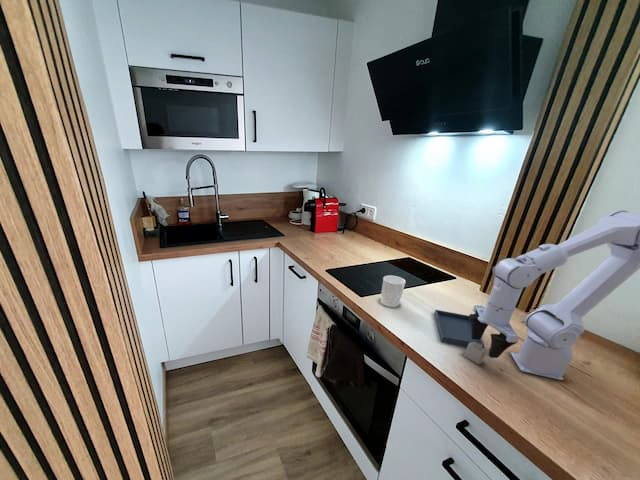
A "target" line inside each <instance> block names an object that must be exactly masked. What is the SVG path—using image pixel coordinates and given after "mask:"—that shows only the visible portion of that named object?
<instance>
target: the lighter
mask: <svg viewBox="0 0 640 480" xmlns="http://www.w3.org/2000/svg"><path fill="white" fill-rule="evenodd" d="M482 347H483V345H481V344H479V343H477V342H473V343H472V342H471V343H469V344H468V346H467V347H466V349H465V352H464V354H463V355H464V357H465V358H467V359H468V360H470V361H472V362H474V363H475V364H477V365H480V364H482V363H483V360H484V358H485V355H486V356H487V357H489V350H490V348H488V349H486V348H482Z"/></svg>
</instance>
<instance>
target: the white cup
mask: <svg viewBox="0 0 640 480" xmlns="http://www.w3.org/2000/svg"><path fill="white" fill-rule="evenodd" d="M405 285H406V280H405V279H404V278H403V277H400V276H397V275H393V274H392V275H391V274H389V275H385V276H383V277H382V284H381V292H380V303H381V304H382V305H383V306H385V307H389V308H396V307H398V306H399V305H400V302H401V299H402V296H403V292H404V289H405Z"/></svg>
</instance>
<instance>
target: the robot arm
mask: <svg viewBox="0 0 640 480" xmlns="http://www.w3.org/2000/svg"><path fill="white" fill-rule="evenodd" d="M604 245H607V247H608V248H609V249H610V255H609V256H608V257H607V258H606V259H605V260H603V261H602V263H600V265H598V266H597V267H596V268H595V269H594V270H593V271H592V272H591V273H589V274H588V275H587V276H586V277H585V278H583V280H582V281H581V282H579V283H578V284H577V285H576V286H575V287H574V288H573V289H572V290H571V291H569V292H568V293H567V294H566V295H565V296H564V297H563V298H562V299H560V301H558V302H557V303H550V304H543V305H542V306H541V307H539V308H538V309H536V310H534V311H531V312H530V313H529V314H528V315H527V316H526V317H525V319H524V324H525V326H526V328H527V329H526V332H527V334H526V336H525V338H524V341H523V342H522V345H521V347H520V350H519V352H518V353H517V352H513V351H512V352H510V355H511V357H512V359H513V360H514V363H515V364H516V365H517V367H518V369H519V371H521V372H523V373H527V374H532V375H535V376H542V377H545V378H550V379H554V380H559V381H564V377H563V376H564V375H565V372H566V371H567V370H568V367H569V366H570V364H571V362H572V359H573V355H574V354H573V353H574V352H573V349H572V346H574V344H576V343H577V341H578V339H579V337H580V336H581V335H582V334H583V333H584V332H585V331H586V329H585V326H584V323H583V319H582V318H584V317H585V316H586V315H587V314H588V313H589V312H591V310H593V309H594V308H595V307H597V306H598V305H599V304H600V303H601V302H603V300H604V299H606V298H607V297H608V296H610V295H611V294H612V293H613V292H614V291H615V290H616V289H618V288H619V287H620V286H621V285H622V284H623V283H625V282H626V281H627V280H628V279H630V278H631V277H632V276H633V275H634V274H635V273H637V272H638V271H639V270H640V213H635V212H630V211H627V210H623V209H621V210H615V211H613V212H611V213H609V214H607V215H605V216H602V217H600V218H599V219H598V221H597V223H596V224H595V225H593V226H591V227H589V228H587V229H585V230H583V231H581V232H579V233H578V234H576V235H573V236H571V237H570V238H568V239H566V240H564V241H562V242H560V243H558V244H553V243H546V244H545V243H543V244H541V245H539V246H538V248H534V249H533V250H531V251H528V252H525V253H524V254H520V255H519V256H517V257H515V258H513V257H508V258H504V259H501V260H500V261H499V262H497V264H496V265H495V266H493V267H492V274H493V275H494V278H493V285H492V287H491V291H490V293H489V296H488V298H487V302H486V304H485V307H484V306H483V305H481V304H474V306H473V309H472V312H474V313H470V314H469V315H468V316H469V317H470V320H471V326H472V339H476V340H480V339H482V337H483V336H484V334H485V331H486V330H487V328H488V326H489V327H491V328H493V329H495V330H496V331H497V332H499V333H491V334H490V342H491V343H490V347H489V349H490V350H489V356H488V357H489V358H492V359H499V357H500V356H501V355H502V354H503V353H504V352H505V351H506V350H507V349H508V348H510V347H512V346H514V345H516V344H518V342H519V338H520V335H519V334H518V333H516V331H515V329H514V328H513V326H512V325H511V323H510V321H511V319H512V316H513V313H514V311H515V309H516V306H517V304H518V301H519V299H520V296H521V294H522V292H523V290H524V288H526V287H527V288H528V287H529V286H531V285H532V284H533V283H534V281H535V280H537V278H539V277H540V276H541V275H542V274H545V273H547V272H550V271H552V270H555V269H556V268H559V267H561V266H564V265H565V264H566V263H567V260H568V258H569V257H573V256H575V255H578V254H580V253H584V252H586V251H589V250H591V249H595V248H598V247H600V246H604Z"/></svg>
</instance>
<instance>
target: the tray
mask: <svg viewBox="0 0 640 480" xmlns="http://www.w3.org/2000/svg"><path fill="white" fill-rule="evenodd" d="M433 317H434V319H435V323H436V328H437V331H438V335H439V339H440V342H441V343H445V344H449V345H454V346H459V347H464V348H467V346H468V344H469V343H471V342H472V343H473V342H477V343H479V344H481V345H483V347H482V348H483V349H485V343H484V341H483V339H482V338H481V339H480V340H476V339H472V326H471V320H470V317H469V315H467V314H461V313H456V312H450V311H445V310H440V309H435V310H434V313H433Z"/></svg>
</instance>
